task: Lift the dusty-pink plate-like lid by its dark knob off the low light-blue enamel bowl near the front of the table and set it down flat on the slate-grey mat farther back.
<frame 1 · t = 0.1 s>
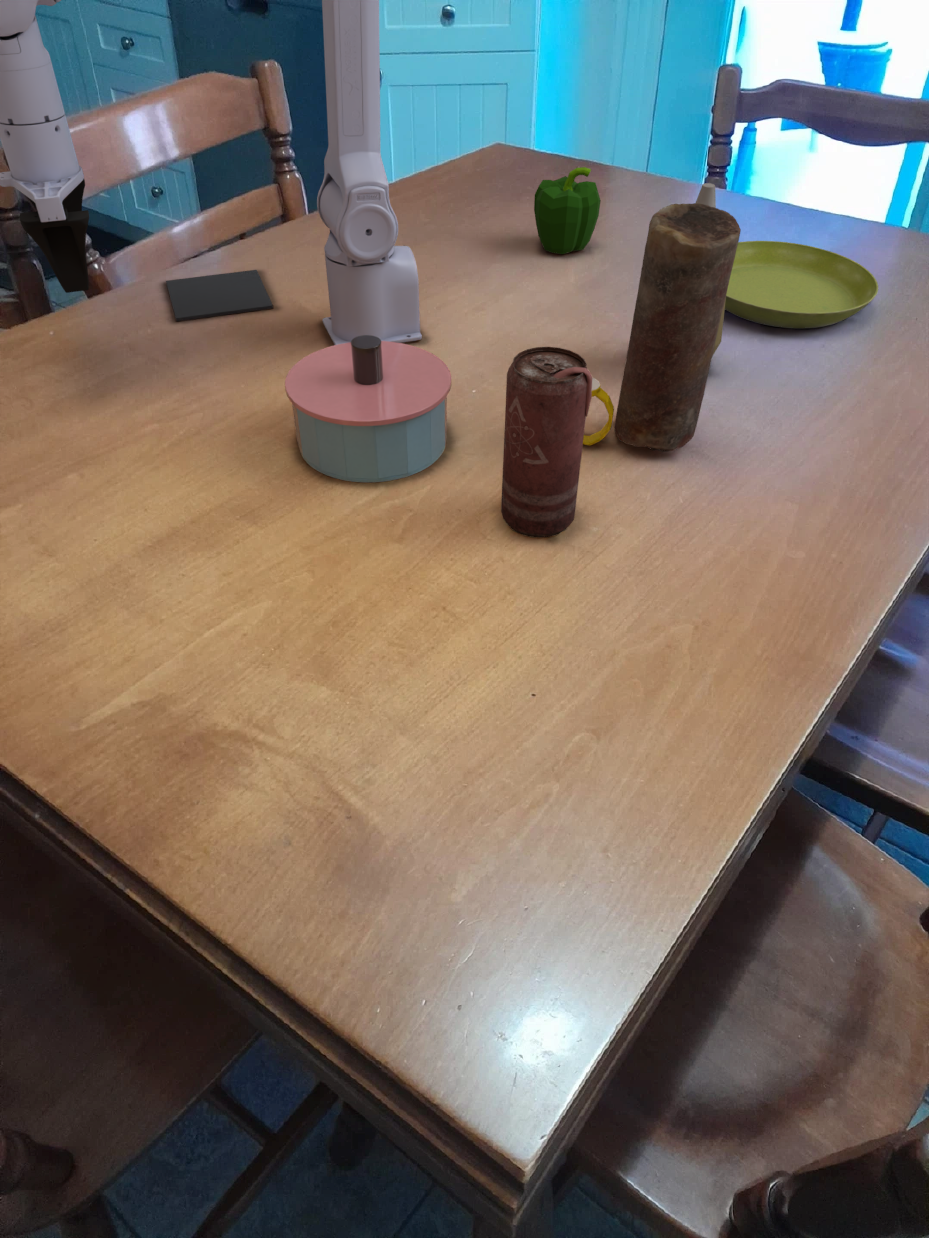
hand: (75, 274, 86), 10 cm above the table, tool pointing down, fingers open, 7 cm apart
candle: (653, 440, 84), on the table
bowl: (373, 441, 84), on the table
saucer: (778, 301, 107), on the table
mat: (218, 296, 107), on the table
can: (539, 519, 75), on the table
bell pepper: (562, 250, 119), on the table
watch: (576, 442, 84), on the table
squeeze bottle: (675, 368, 95), on the table
lid: (368, 383, 79), point 6 cm above the table, touching bowl
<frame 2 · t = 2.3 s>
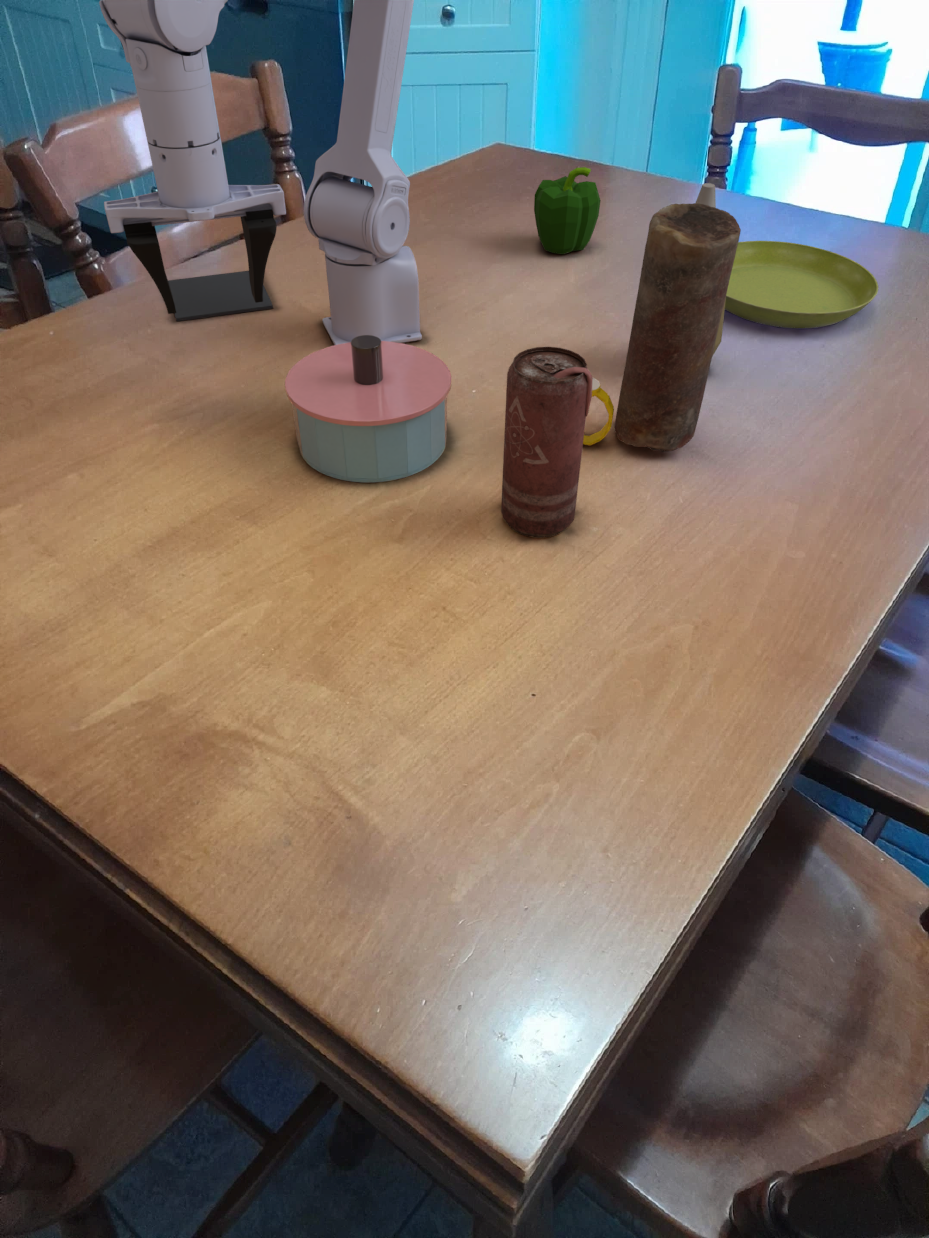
hand: (214, 303, 81), 10 cm above the table, tool pointing down, fingers open, 7 cm apart
nothing on the table moved.
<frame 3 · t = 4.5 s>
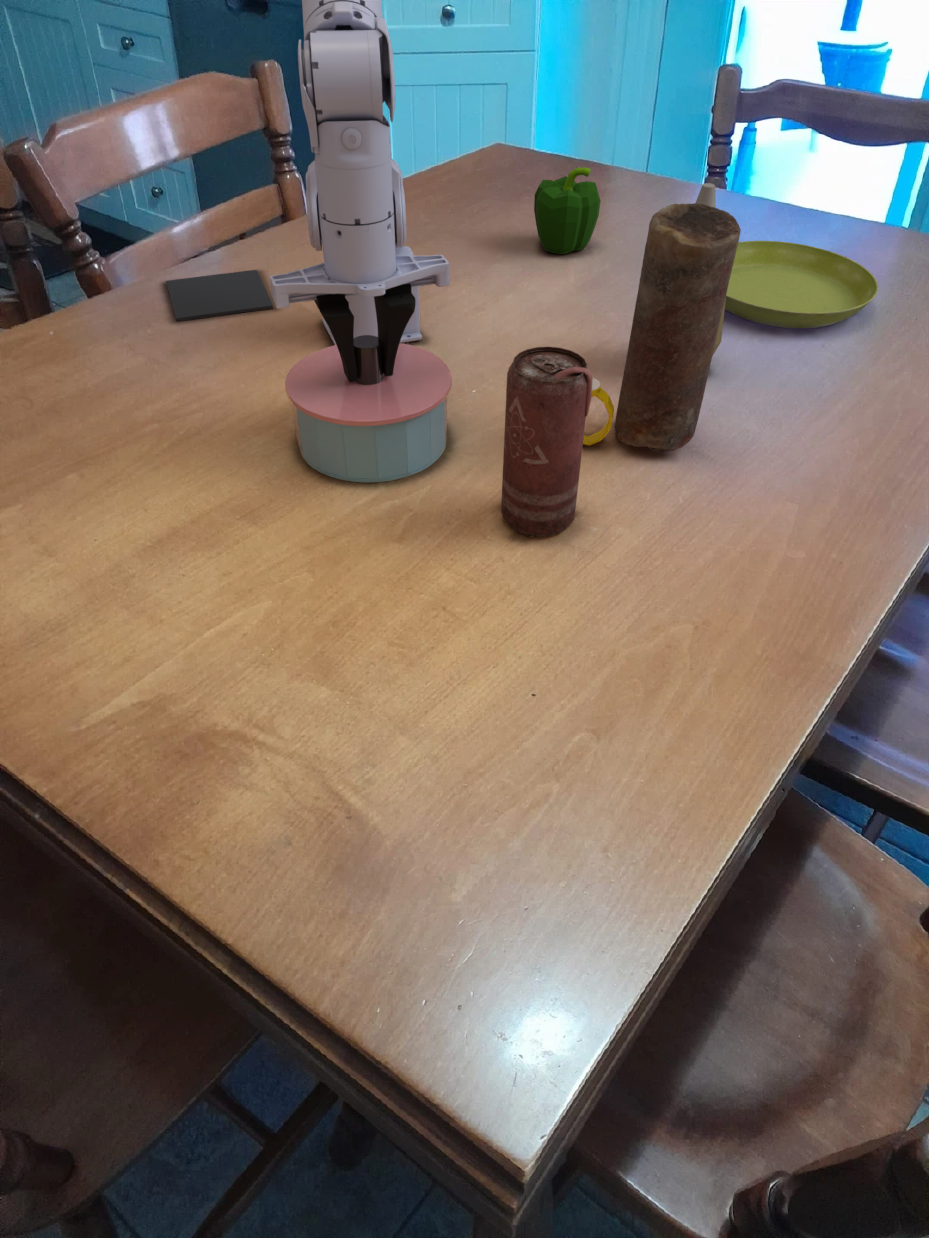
hand: (368, 374, 79), 7 cm above the table, tool pointing down, fingers closed on lid, 2 cm apart
lid: (369, 383, 80), point 6 cm above the table, touching bowl, gripper
everything else where it was.
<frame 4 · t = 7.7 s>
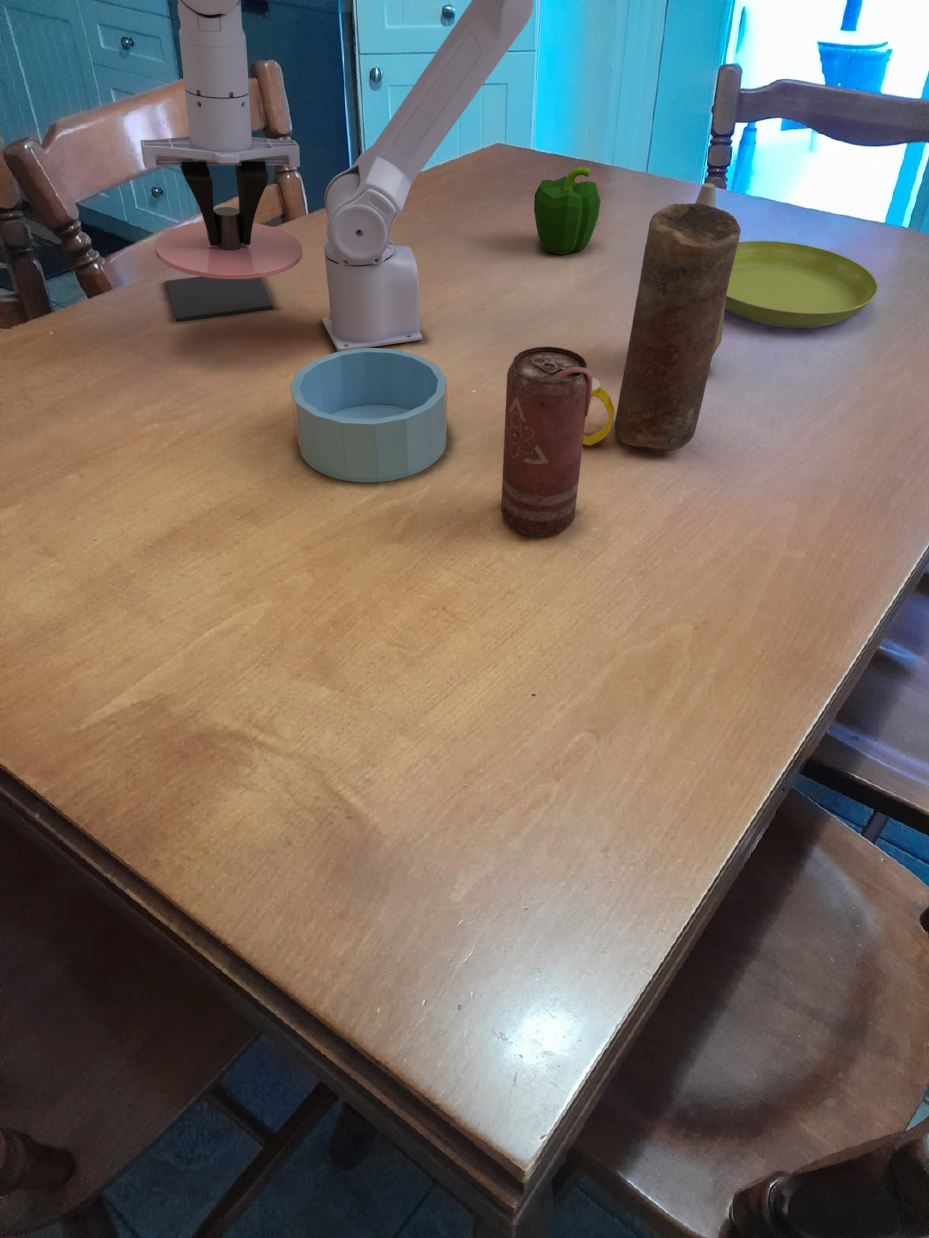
hand: (229, 242, 91), 11 cm above the table, tool pointing down, fingers closed on lid, 2 cm apart
lid: (230, 251, 92), point 10 cm above the table, tilted 5°, touching gripper
everything else where it was.
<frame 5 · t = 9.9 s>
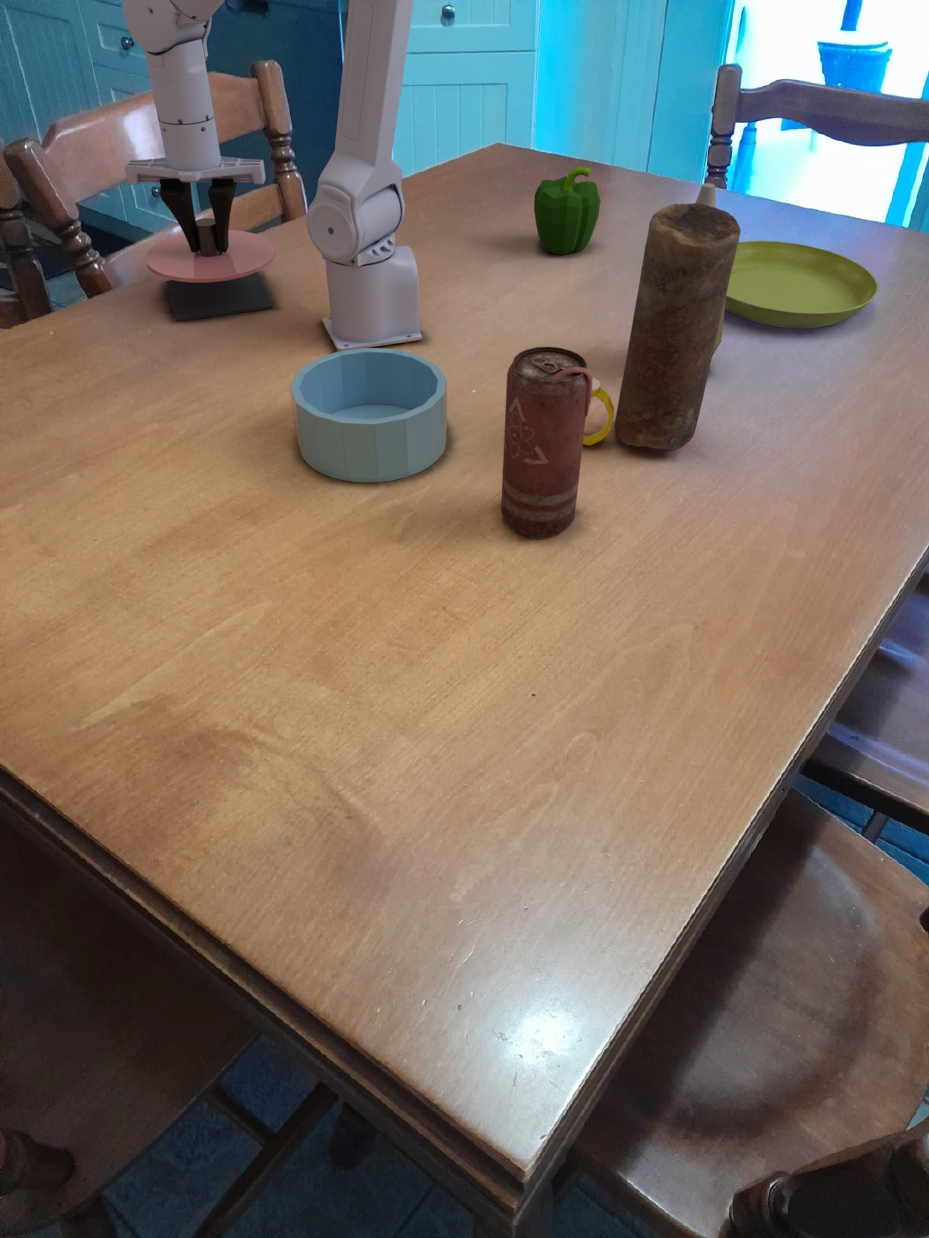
hand: (210, 249, 103), 5 cm above the table, tool pointing down, fingers closed on lid, 2 cm apart
lid: (211, 257, 104), point 5 cm above the table, touching gripper
everything else where it was.
when the fingers open (2 cm above the table, at t = 11.1 s): lid stays where it is, resting on mat.
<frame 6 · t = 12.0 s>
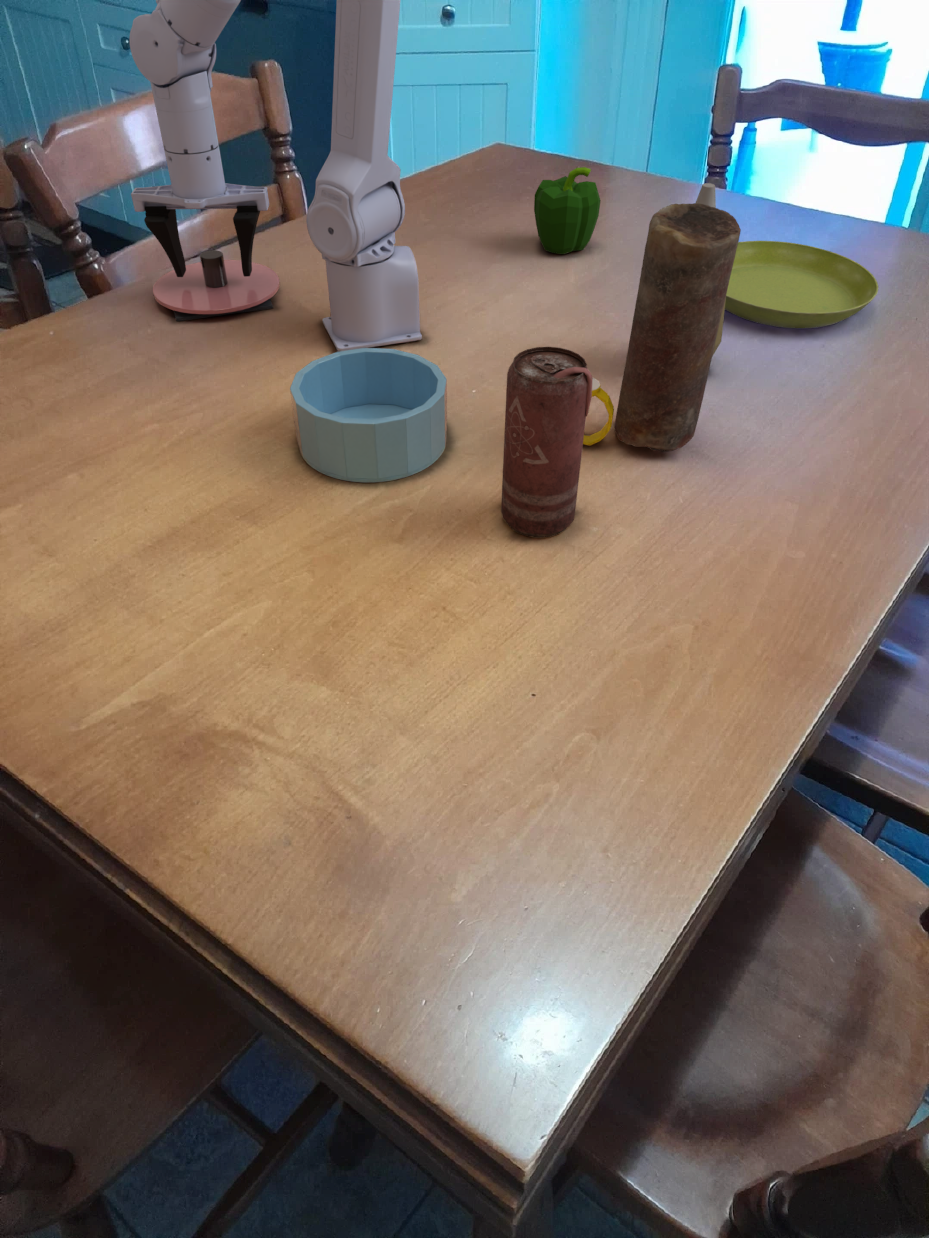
hand: (214, 273, 105), 3 cm above the table, tool pointing down, fingers open, 7 cm apart
lid: (217, 287, 106), point 1 cm above the table, touching mat
everything else where it was.
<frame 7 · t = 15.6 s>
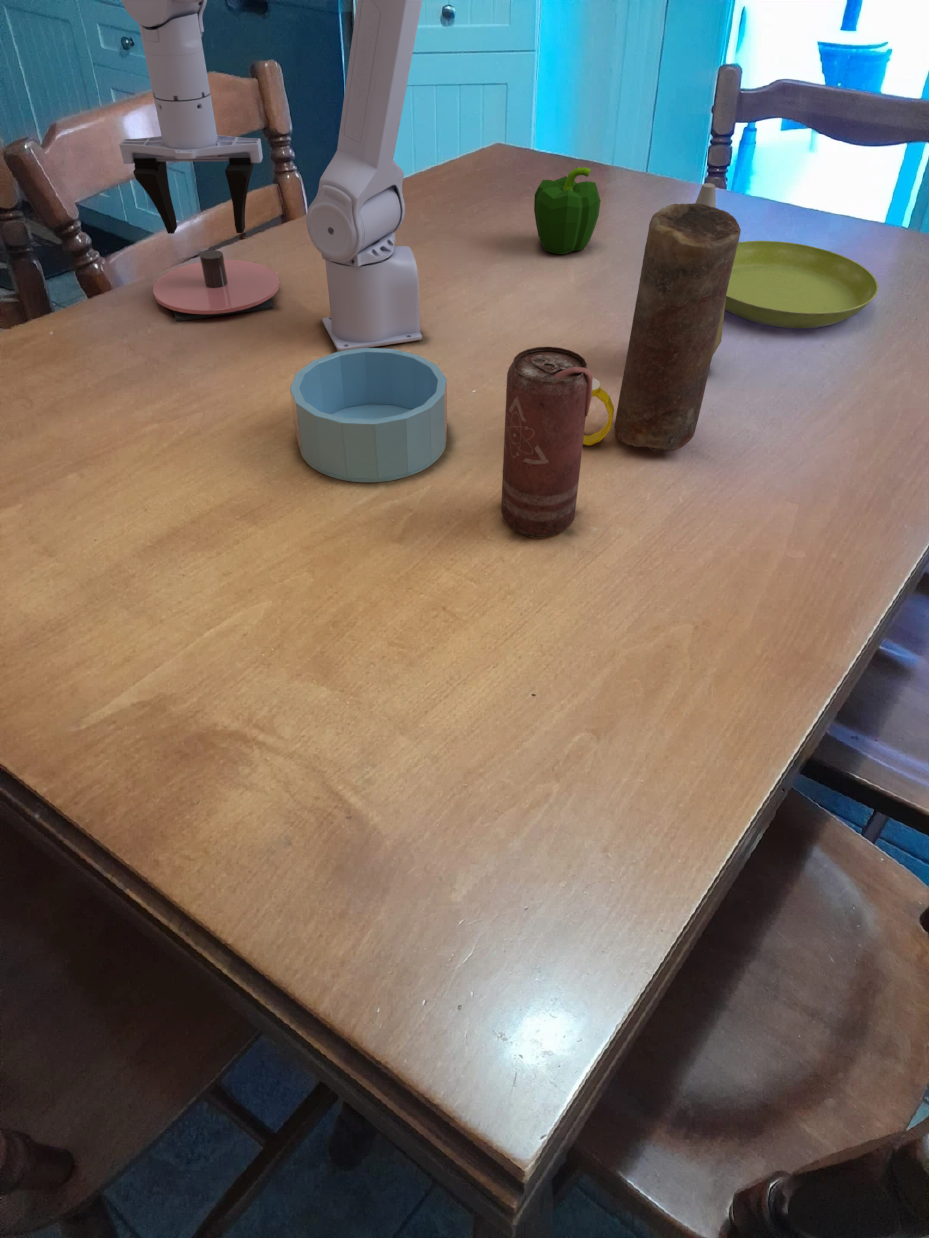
hand: (206, 230, 102), 8 cm above the table, tool pointing down, fingers open, 7 cm apart
nothing on the table moved.
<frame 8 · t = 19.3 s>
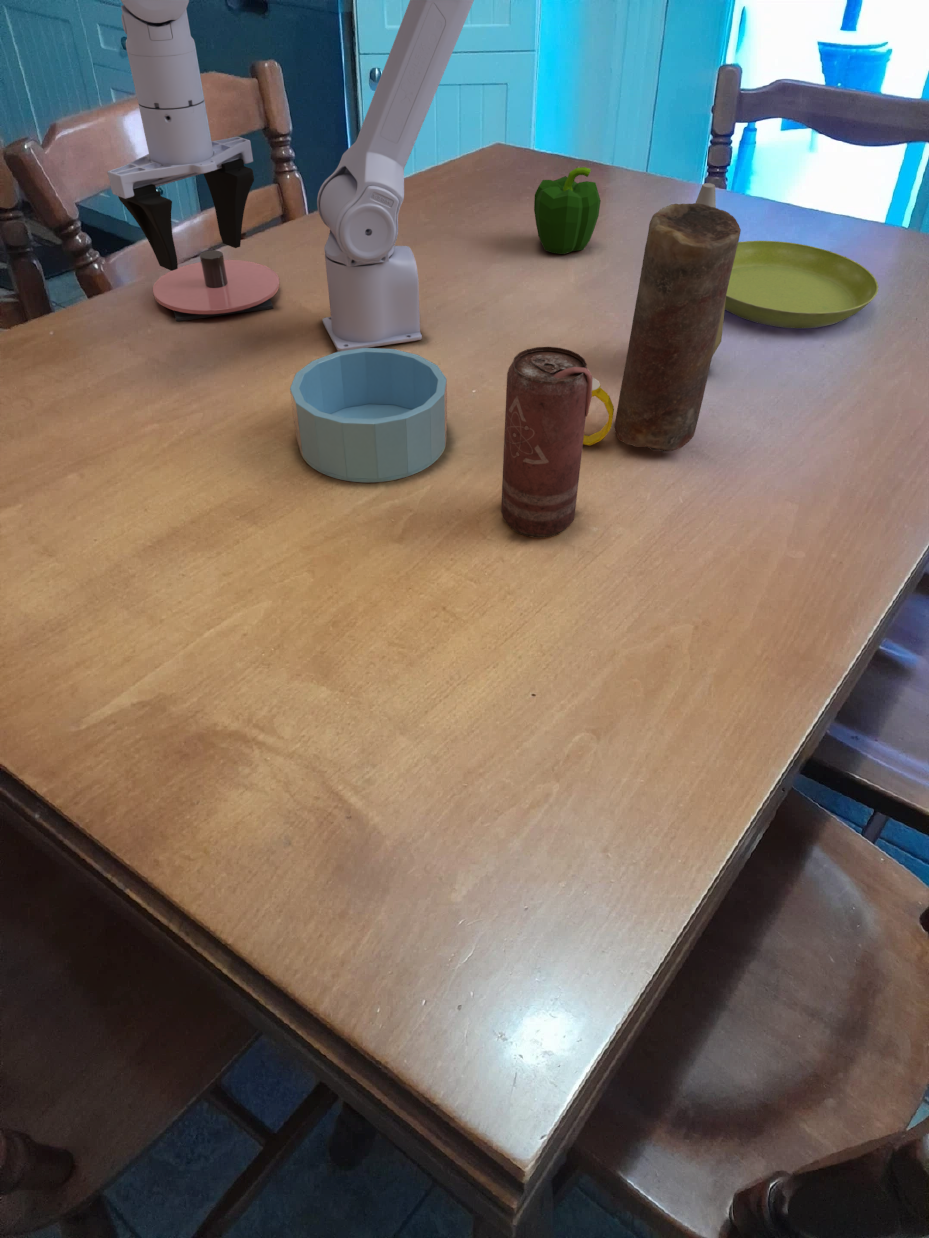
hand: (200, 256, 89), 10 cm above the table, tool pointing down, fingers open, 7 cm apart
nothing on the table moved.
at the end: lid inside the target area on the mat (0.0 cm from its centre), point 1.0 cm above the mat's base; lid tilted 0°; lid touching mat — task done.
